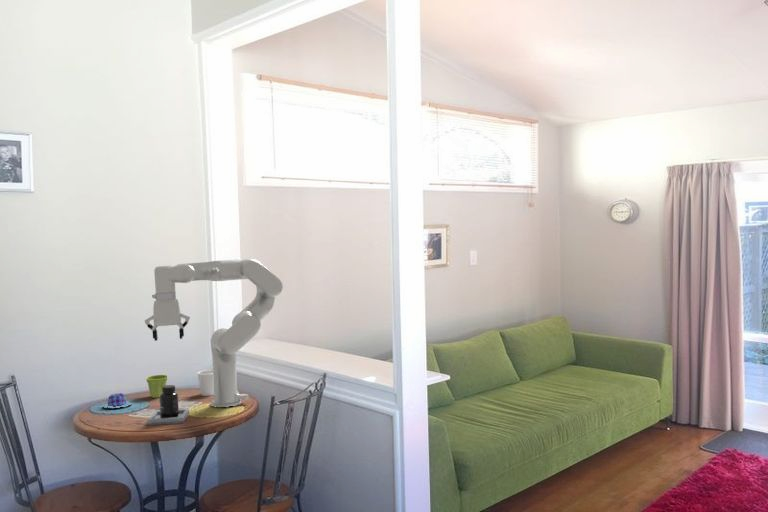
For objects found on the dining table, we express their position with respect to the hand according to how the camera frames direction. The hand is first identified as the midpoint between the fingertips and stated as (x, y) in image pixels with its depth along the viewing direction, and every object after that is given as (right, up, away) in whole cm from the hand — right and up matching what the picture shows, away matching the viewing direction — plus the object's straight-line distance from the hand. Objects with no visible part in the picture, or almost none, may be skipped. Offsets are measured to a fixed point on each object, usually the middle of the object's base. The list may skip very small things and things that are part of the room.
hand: (168, 339), depth 267 cm
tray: (+3, -30, -10) cm, 31 cm away
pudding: (-26, -30, +13) cm, 42 cm away
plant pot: (-14, -29, +29) cm, 43 cm away
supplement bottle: (+3, -29, -10) cm, 31 cm away
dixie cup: (+8, -28, +30) cm, 42 cm away
